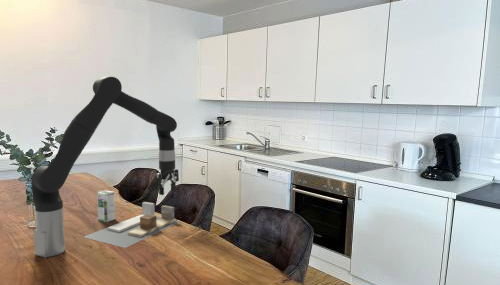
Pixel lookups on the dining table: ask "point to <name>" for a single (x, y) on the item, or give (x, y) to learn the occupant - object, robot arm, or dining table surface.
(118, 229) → the white long l-shaped piece
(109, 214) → the syrup box
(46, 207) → the robot arm
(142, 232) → the birch strip
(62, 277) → the dining table surface
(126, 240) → the lane board
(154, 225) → the walnut block
